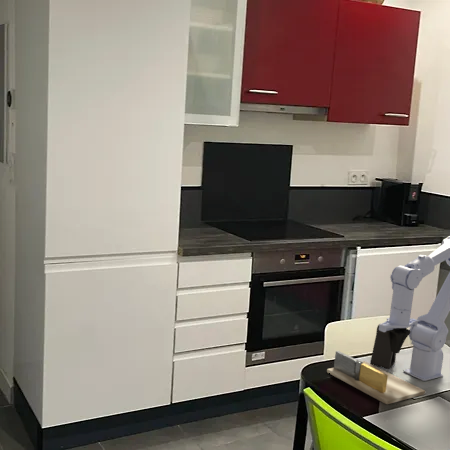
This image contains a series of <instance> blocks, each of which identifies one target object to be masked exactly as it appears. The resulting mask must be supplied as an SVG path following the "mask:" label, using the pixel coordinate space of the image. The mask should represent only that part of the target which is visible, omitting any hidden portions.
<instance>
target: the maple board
mask: <svg viewBox="0 0 450 450" xmlns="http://www.w3.org/2000/svg"><path fill="white" fill-rule="evenodd" d="M362 362H363V364H366V365H368V366H370V367H372V368H374V369H376V370H378V371H380V372H382V373H384V374H386V375H388V378H387V385H386V392H384V393H382V392H380V391H378V390H376V389H374V388H372V387H370V386H369V385H367V384H365V383H363V382H361V381H357V380H355V379H354V378H352V377H350V376H348V375H346V374H344V373H342V372H340V371H338V370H336V369H334V367H331V368H327V369H326V372H327V374H329V373H330V375H332V377H333V376H334V377H335V378H337V379H339V380H341V381H343V382H345V383H346V384H348V385H350V386H352V387H353V388H356V389H357V390H359V391H361V392H363V393H364V394H366V395H369V396H370V397H372V398H374V399H376V400H377V401H380V402H381V403H383V404H385V405H390V404H394V403H397V402H401V401H404V400H405V401H406V400H407V399H412V398H415V397H419V396H423V395H426V390H424V389H422V388H420V387H418V386H416V385H415V384H413V383H410V382H408V381H406V380H404V379H402V378H401V377H398V376H397V375H396V376H395V375H394V374H392V373H390V372H388V371H386V370H384V369H381V367H379V366H375V365H371V364H370V362H367V361H366V360H363V361H362Z"/></svg>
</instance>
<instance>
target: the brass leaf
mask: <svg viewBox="0 0 450 450" xmlns="http://www.w3.org/2000/svg"><path fill="white" fill-rule="evenodd" d="M387 378H388V375H386V374H384V373H382V372H380V371H378V370H376V369H374V368H372V367H370V366H368V365H366V364H361V369H360V377H359V381H361V382H363V383H365V384H367V385H369V386H370V387H372V388H374V389H376V390H378V391H380V392H382V393H384V392H386V385H387Z"/></svg>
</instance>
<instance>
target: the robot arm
mask: <svg viewBox="0 0 450 450" xmlns="http://www.w3.org/2000/svg"><path fill="white" fill-rule="evenodd" d="M442 262H446V264H447V265H448V266H449V267H450V235H449V236H447V237H446V238H444V239H443V240H442V241H441V245H440V246H438V247H437V248H436V249H434V250H433V251H432V252H430V254H428V255H426V254H419V255H418V256H417V257H415V259H413V260H411V261H408V262H407V264H405V265H398V266H395V267H394V268H393V270H392V272H391V274H390V275H389V276H390V277H389V278H390V282H391V289H392V296H391V297H392V298H391V303H390V313H389V317H387V318H386V321H384V322H382V323H379V324H380V325H379V324H378V325H379V330H380V331H382V332H387V334H388V337H389V340H390V347H391V352H394V353H396V354H399V353H400V352H401V349H402V347H403V345H404V343H405V341H406V339H407V338H408V337H409V340H410V341H411V343H410V344H412V352H411V357H410V358H411V359H410V366H409V368H405V369H404V370H403V372H404V373H405V374H407V375H409V376H412V377H414V378H416V379H419V381H422V382H426V381H430V380H433V379H436V378H443V377H444V374H443V373H442V369H443V367H442V366H443V362H444V352H443V349H442V348H444V346H445V344H446V340H447V336H448V334H449V329H448V327H447V324H446V323H445V321H446V319H447V317H448V316H449V314H450V271H449V272H448V274H447V276H446V278H445V280H444V282H443V284H442V285H441V287H440V290H439V291H438V293H437V295H436V297H435V299H434V300H433V303H432V305H431V306H430V308H429V310H428V312H427V313H425V314H423V315H419V316H418V317H417V319H415V318H414V317H413V318H411V314H412V307H413V300H414V294H415V293H414V292H415V289H416V288H418V287H419V285H420V282H422V280H423V279H424V278H425V277H427V276H428V275H430V274H431V273H433V272H434V271H435V267H436V266H437V265H439V264H441V263H442ZM408 328H409V329H408Z"/></svg>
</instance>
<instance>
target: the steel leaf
mask: <svg viewBox="0 0 450 450" xmlns="http://www.w3.org/2000/svg"><path fill="white" fill-rule="evenodd" d="M333 363H334V364H333V368H334V369H336V370H338V371H340V372H342V373H344V374H346V375H348V376H350V377H352V378H354V379H355V380H357V381H359V377H360V369H361V364H363V361H361V360H358V359H355V357H352V356H349V355H348V354H346V353H344V352H342V351H340V350H337V351H335V355H334V362H333Z"/></svg>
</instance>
